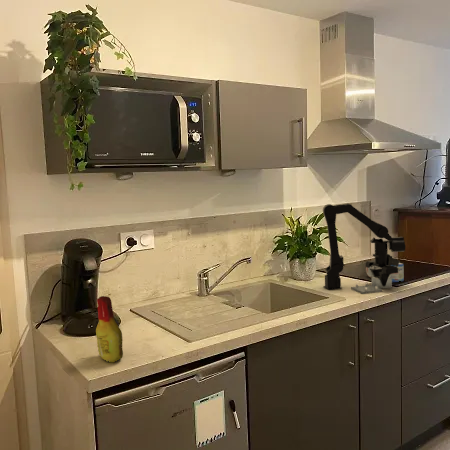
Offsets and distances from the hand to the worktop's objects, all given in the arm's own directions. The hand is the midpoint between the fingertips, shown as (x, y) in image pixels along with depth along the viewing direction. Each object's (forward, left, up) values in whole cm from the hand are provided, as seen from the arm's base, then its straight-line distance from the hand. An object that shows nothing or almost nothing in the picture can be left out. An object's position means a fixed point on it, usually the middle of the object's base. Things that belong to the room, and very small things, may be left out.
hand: (381, 285), depth 218 cm
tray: (-9, -2, -1) cm, 9 cm away
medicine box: (+12, +8, -1) cm, 15 cm away
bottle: (-123, -46, -1) cm, 131 cm away
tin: (+8, +16, -1) cm, 18 cm away
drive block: (0, 0, -1) cm, 1 cm away
